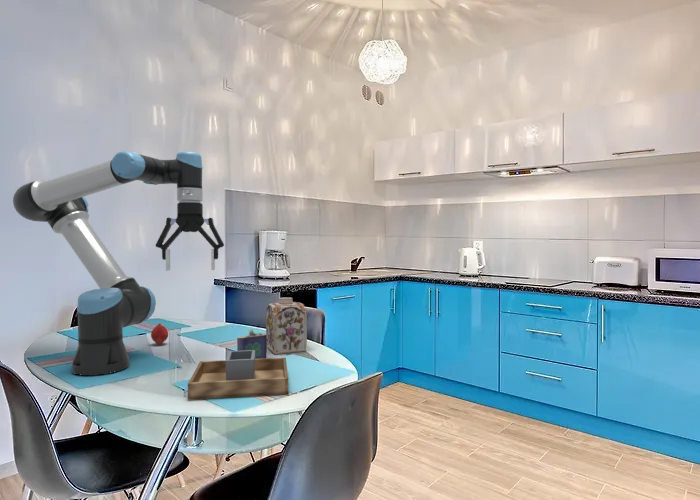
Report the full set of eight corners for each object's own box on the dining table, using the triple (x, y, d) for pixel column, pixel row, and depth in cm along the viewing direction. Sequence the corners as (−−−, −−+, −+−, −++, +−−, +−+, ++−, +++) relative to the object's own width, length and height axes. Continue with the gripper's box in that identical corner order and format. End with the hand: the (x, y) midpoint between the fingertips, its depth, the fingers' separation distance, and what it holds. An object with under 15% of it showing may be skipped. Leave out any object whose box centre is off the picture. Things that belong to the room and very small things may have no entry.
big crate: (187, 400, 112) (187, 383, 112) (200, 375, 132) (200, 361, 132) (288, 394, 116) (288, 378, 116) (285, 371, 136) (285, 357, 136)
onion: (147, 345, 167) (147, 323, 167) (159, 342, 173) (159, 320, 172) (160, 347, 165) (159, 324, 165) (171, 343, 170) (171, 321, 170)
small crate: (226, 388, 118) (225, 360, 118) (229, 376, 128) (229, 351, 128) (254, 386, 120) (253, 359, 119) (255, 375, 129) (255, 349, 129)
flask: (238, 367, 139) (238, 332, 139) (235, 365, 142) (235, 330, 142) (267, 363, 144) (267, 329, 144) (264, 361, 147) (264, 327, 146)
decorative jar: (273, 355, 154) (273, 301, 153) (265, 347, 165) (265, 296, 164) (308, 351, 159) (307, 298, 158) (297, 344, 169) (297, 294, 169)
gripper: (144, 201, 140) (145, 271, 141) (229, 202, 144) (230, 270, 145) (151, 202, 148) (152, 269, 148) (231, 203, 152) (232, 268, 152)
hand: (190, 270), depth 147 cm, fingers open, 13 cm apart
